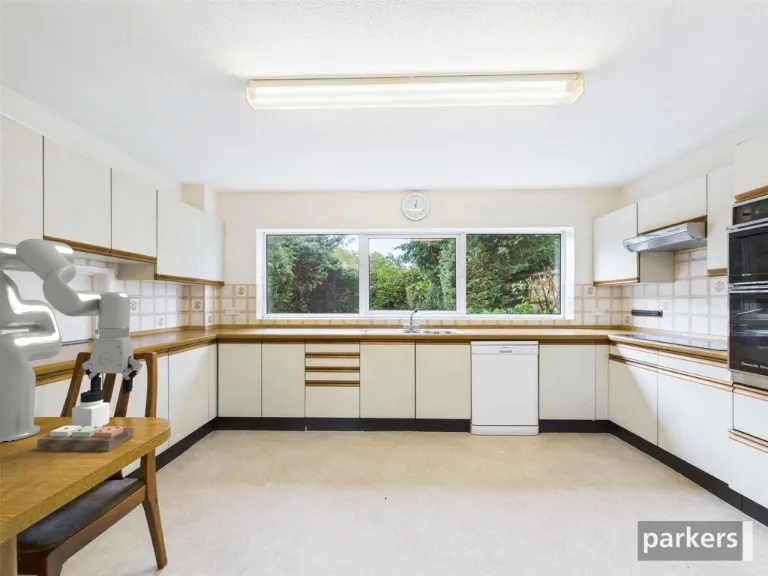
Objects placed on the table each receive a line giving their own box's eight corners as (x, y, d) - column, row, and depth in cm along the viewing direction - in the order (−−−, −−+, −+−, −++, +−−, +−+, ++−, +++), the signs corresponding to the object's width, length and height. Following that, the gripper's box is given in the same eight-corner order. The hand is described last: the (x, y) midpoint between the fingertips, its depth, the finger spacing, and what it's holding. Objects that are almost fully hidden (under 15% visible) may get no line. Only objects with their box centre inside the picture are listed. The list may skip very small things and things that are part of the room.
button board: (37, 450, 103) (37, 439, 103) (67, 436, 113) (67, 426, 113) (108, 451, 103) (109, 440, 103) (132, 437, 113) (133, 428, 113)
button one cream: (49, 439, 106) (50, 431, 106) (64, 433, 111) (65, 425, 111) (67, 440, 106) (67, 431, 106) (81, 433, 111) (81, 425, 111)
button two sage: (71, 440, 106) (72, 431, 106) (85, 433, 111) (86, 425, 111) (89, 440, 106) (89, 431, 106) (102, 434, 111) (102, 425, 111)
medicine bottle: (109, 423, 125) (111, 388, 126) (90, 431, 118) (92, 393, 118) (90, 422, 126) (91, 387, 126) (70, 429, 119) (72, 392, 119)
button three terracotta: (93, 440, 106) (94, 431, 106) (106, 434, 111) (107, 425, 111) (111, 441, 106) (111, 432, 106) (123, 434, 111) (123, 426, 111)
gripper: (73, 334, 105) (71, 395, 105) (134, 335, 105) (132, 396, 105) (94, 331, 113) (91, 388, 112) (151, 333, 113) (148, 389, 112)
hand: (111, 392), depth 109 cm, fingers open, 8 cm apart
